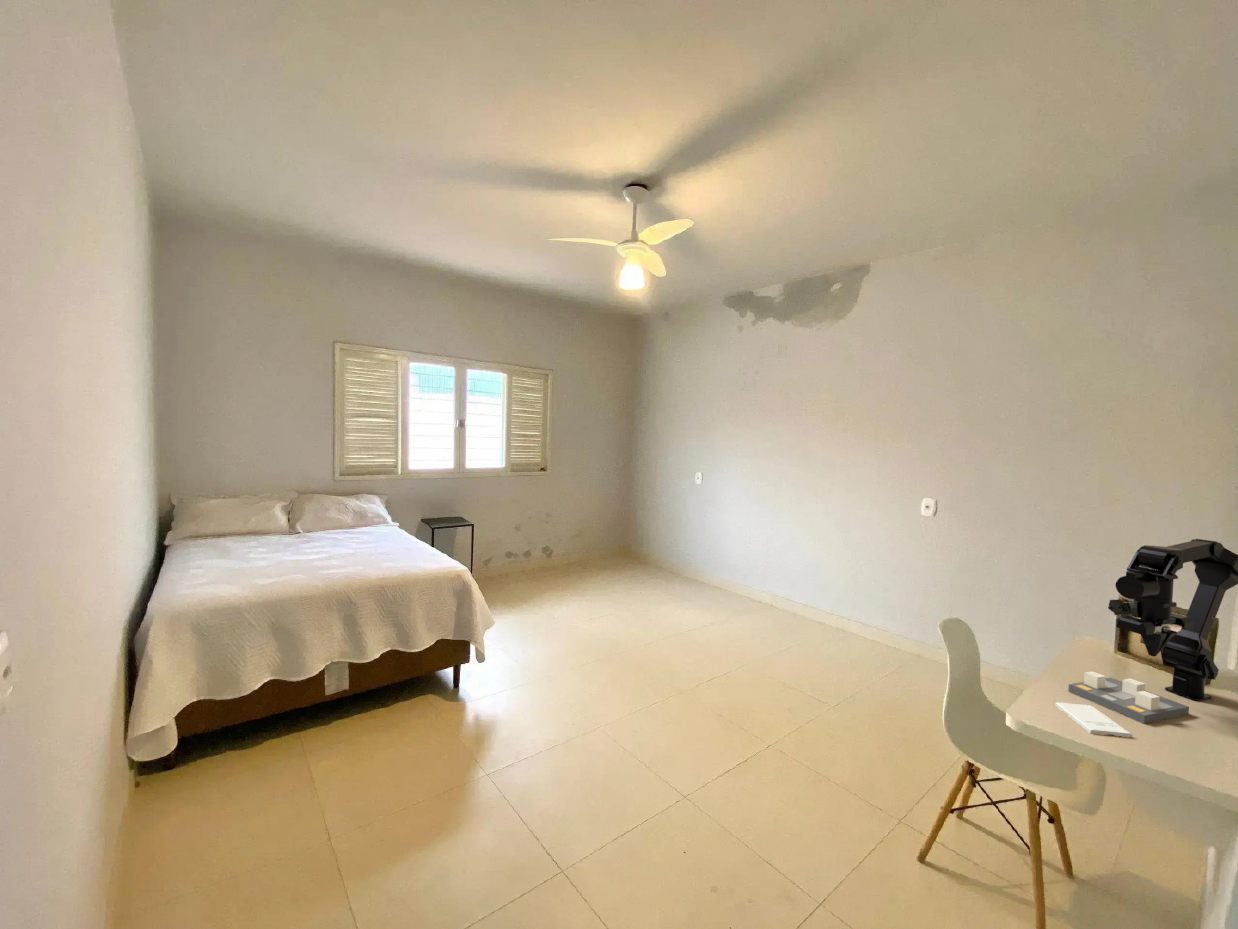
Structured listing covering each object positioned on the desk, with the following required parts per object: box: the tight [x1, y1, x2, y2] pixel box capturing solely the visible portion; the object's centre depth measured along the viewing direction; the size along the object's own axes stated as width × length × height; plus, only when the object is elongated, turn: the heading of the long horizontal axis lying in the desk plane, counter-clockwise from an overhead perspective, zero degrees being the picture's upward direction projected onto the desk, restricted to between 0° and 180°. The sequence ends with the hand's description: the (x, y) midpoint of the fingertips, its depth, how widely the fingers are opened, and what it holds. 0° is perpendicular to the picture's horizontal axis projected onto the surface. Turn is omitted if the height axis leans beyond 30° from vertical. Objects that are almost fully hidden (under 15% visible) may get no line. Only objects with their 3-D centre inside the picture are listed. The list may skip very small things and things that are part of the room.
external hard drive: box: [1055, 701, 1133, 738], centre depth 121 cm, size 2×8×12 cm
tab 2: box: [1122, 678, 1146, 696], centre depth 131 cm, size 3×3×3 cm
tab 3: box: [1135, 690, 1160, 710], centre depth 124 cm, size 3×3×3 cm
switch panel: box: [1068, 676, 1190, 724], centre depth 130 cm, size 16×16×2 cm
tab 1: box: [1083, 670, 1107, 689], centre depth 135 cm, size 3×3×3 cm
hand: (1152, 655), depth 130 cm, fingers closed
